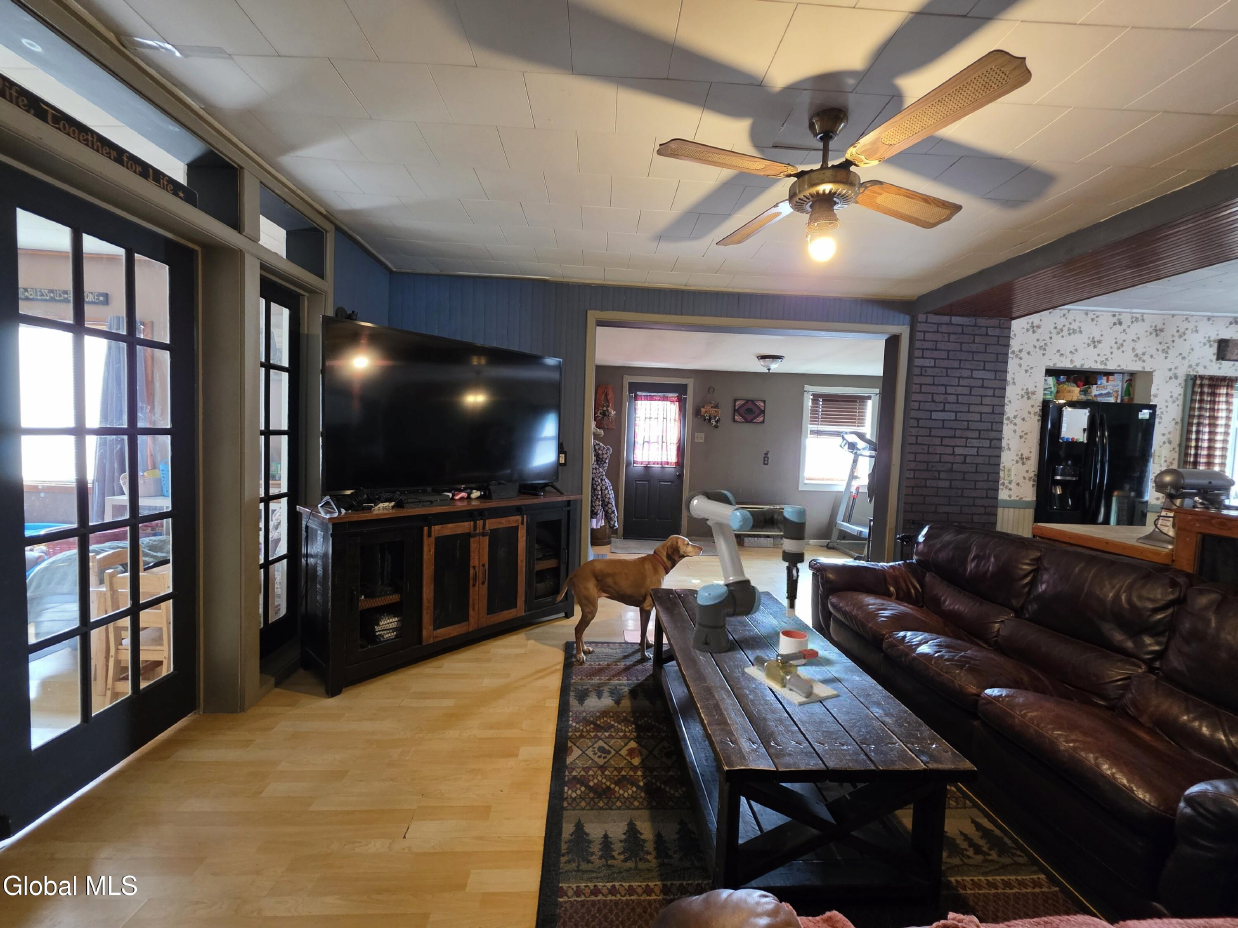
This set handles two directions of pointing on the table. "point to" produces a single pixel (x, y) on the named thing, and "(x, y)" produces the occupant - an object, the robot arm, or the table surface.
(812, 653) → the lever
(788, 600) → the robot arm
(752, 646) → the table surface
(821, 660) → the table surface
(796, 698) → the board
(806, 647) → the cup
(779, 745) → the table surface
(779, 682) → the valve
